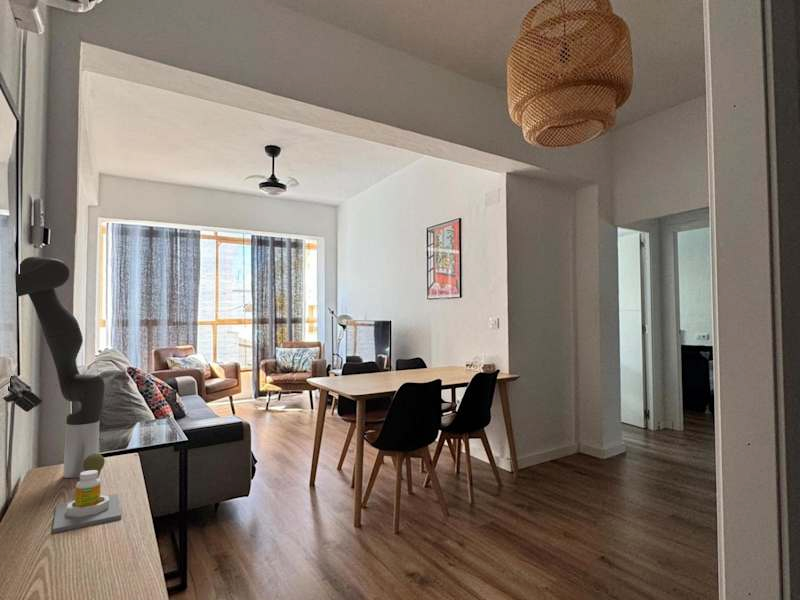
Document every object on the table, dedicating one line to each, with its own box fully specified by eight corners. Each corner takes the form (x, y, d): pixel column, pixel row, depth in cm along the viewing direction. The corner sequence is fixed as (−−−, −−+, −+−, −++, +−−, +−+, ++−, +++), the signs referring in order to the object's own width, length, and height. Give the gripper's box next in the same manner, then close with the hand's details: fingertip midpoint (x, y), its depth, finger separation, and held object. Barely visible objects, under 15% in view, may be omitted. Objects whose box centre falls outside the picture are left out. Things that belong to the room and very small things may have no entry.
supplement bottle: (78, 515, 112) (80, 477, 113) (71, 510, 116) (73, 472, 116) (102, 508, 117) (104, 471, 117) (95, 503, 120) (96, 467, 120)
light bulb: (77, 487, 134) (79, 454, 135) (97, 482, 139) (98, 450, 140) (87, 491, 132) (89, 457, 133) (107, 485, 137) (108, 452, 137)
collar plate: (56, 508, 119) (57, 496, 119) (117, 497, 127) (117, 486, 128) (52, 533, 105) (53, 520, 105) (121, 518, 113) (121, 506, 113)
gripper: (-15, 354, 105) (43, 399, 110) (3, 351, 117) (54, 392, 122) (-47, 377, 102) (14, 422, 107) (-26, 372, 114) (28, 413, 119)
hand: (35, 406), depth 114 cm, fingers open, 8 cm apart
